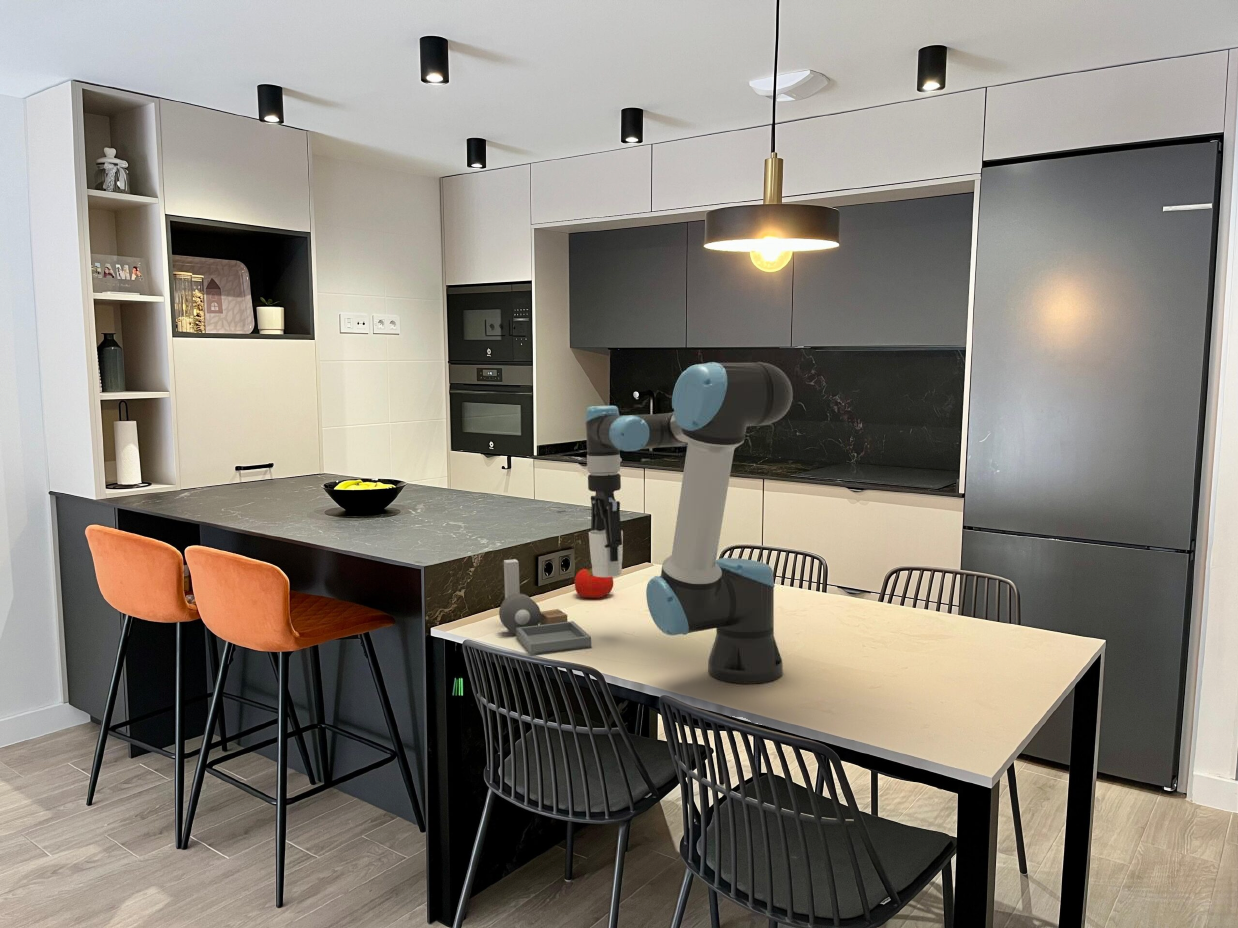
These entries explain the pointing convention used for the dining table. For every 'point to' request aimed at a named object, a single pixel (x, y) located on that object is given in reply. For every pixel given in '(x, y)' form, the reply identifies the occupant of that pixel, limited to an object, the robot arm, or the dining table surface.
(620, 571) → the white cup
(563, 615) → the brown wooden block
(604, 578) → the tomato
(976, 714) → the dining table surface
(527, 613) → the trolley wheel
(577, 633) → the tray
